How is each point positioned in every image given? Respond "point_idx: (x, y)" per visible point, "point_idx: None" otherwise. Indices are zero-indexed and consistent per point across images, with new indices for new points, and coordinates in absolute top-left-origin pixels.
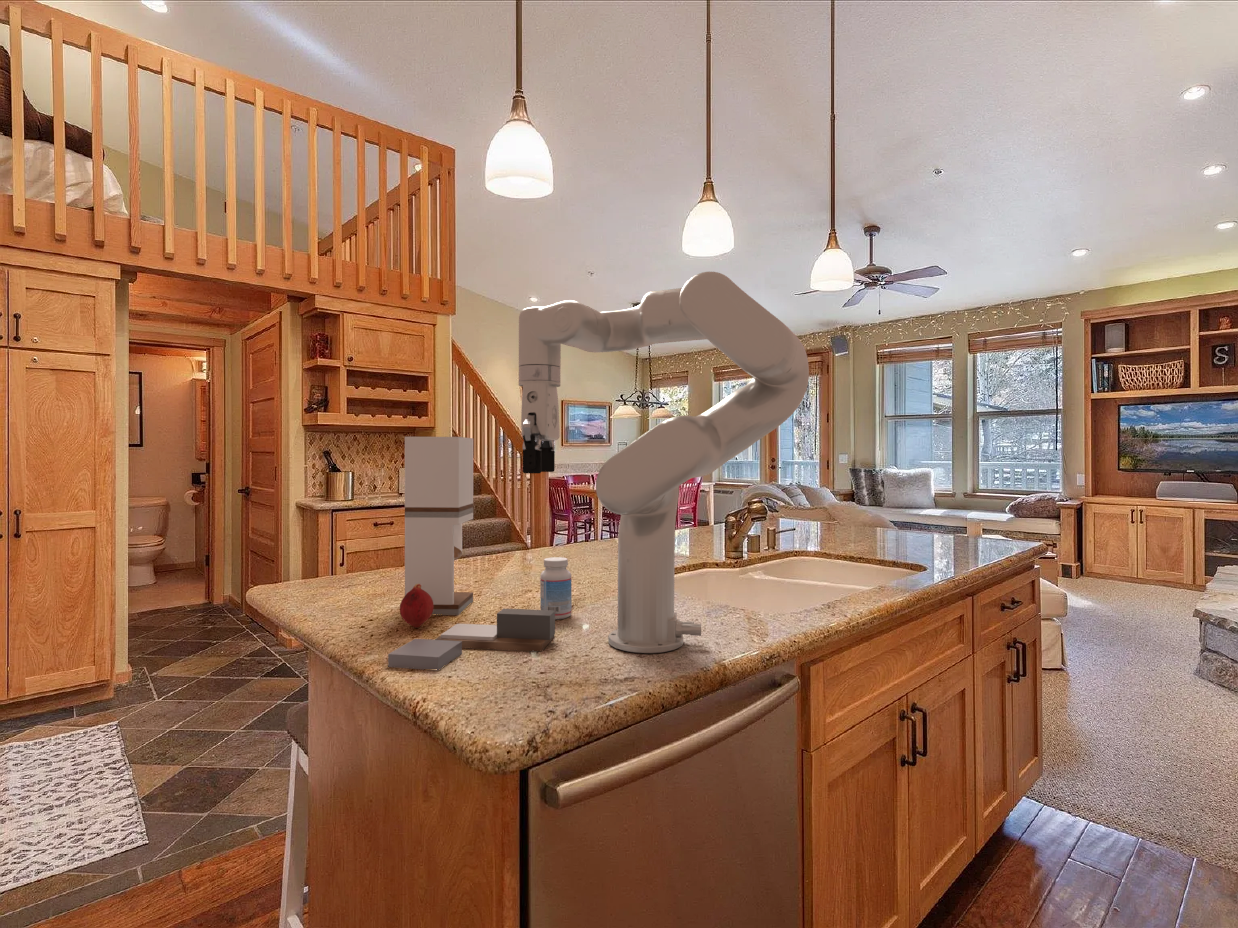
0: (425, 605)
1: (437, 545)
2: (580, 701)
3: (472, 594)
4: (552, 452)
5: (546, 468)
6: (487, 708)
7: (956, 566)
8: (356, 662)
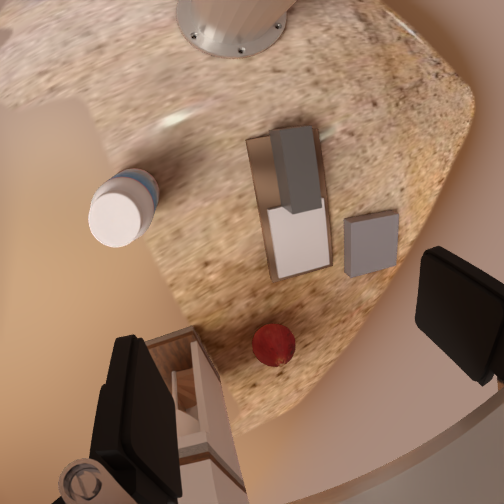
0: (284, 331)
1: (215, 420)
2: (417, 55)
3: None
4: (134, 441)
5: (156, 377)
6: (444, 125)
7: None
8: (382, 293)
